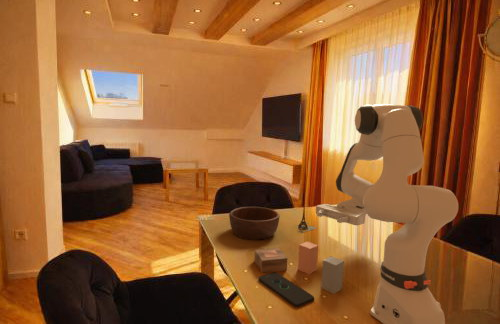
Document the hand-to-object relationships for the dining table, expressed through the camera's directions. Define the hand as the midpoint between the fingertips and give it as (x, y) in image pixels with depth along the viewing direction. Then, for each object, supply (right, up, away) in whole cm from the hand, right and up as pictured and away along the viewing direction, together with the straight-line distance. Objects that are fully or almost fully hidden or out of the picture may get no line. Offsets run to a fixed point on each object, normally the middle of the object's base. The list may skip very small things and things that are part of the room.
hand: (328, 217), depth 128 cm
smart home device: (-20, -21, -20) cm, 36 cm away
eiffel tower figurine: (-3, -14, +42) cm, 44 cm away
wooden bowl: (-29, -14, +32) cm, 46 cm away
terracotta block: (-9, -19, -6) cm, 22 cm away
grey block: (-3, -21, -19) cm, 28 cm away
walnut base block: (-23, -19, -3) cm, 30 cm away
